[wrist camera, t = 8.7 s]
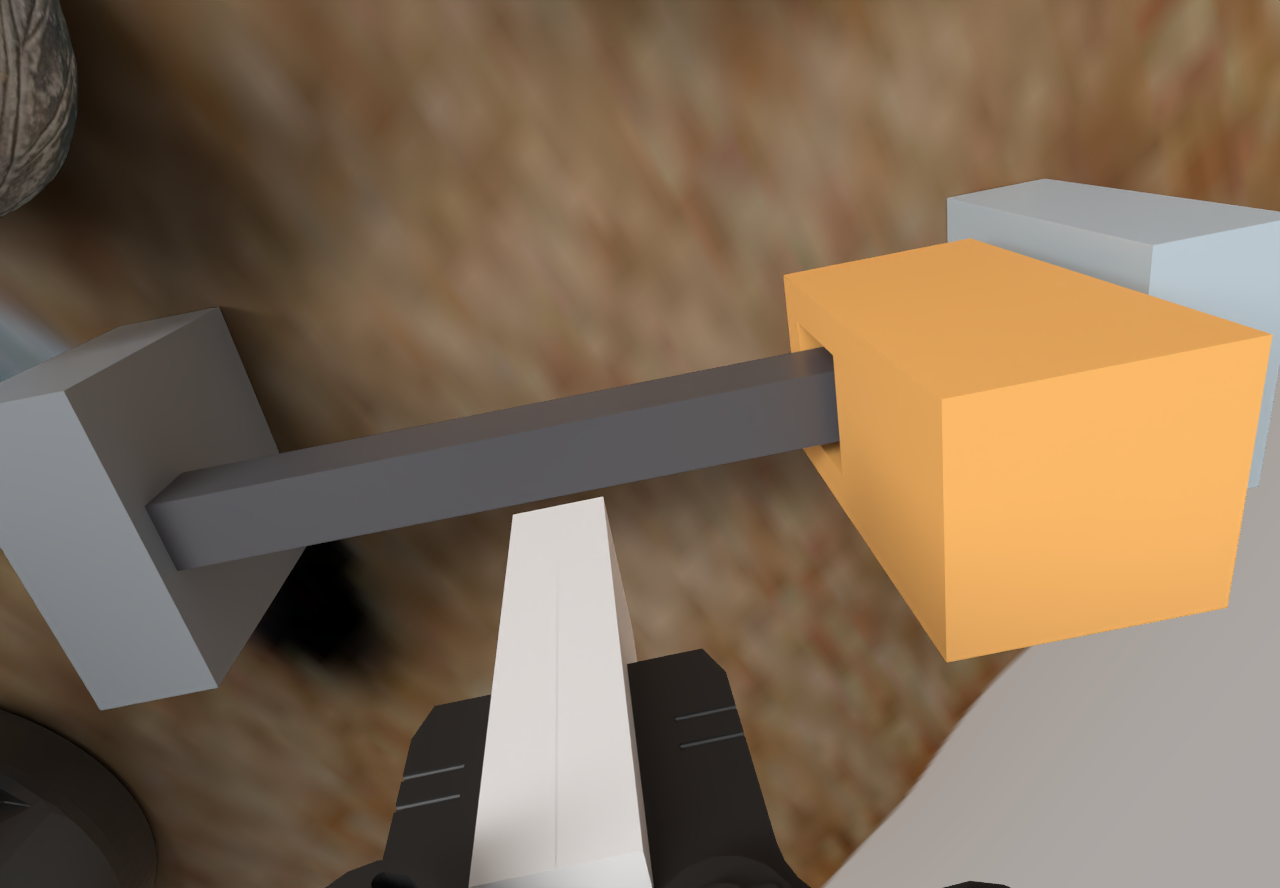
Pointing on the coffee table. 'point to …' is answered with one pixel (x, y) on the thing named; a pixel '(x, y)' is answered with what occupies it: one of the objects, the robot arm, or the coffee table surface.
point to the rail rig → (456, 441)
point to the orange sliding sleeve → (1032, 441)
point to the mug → (34, 98)
